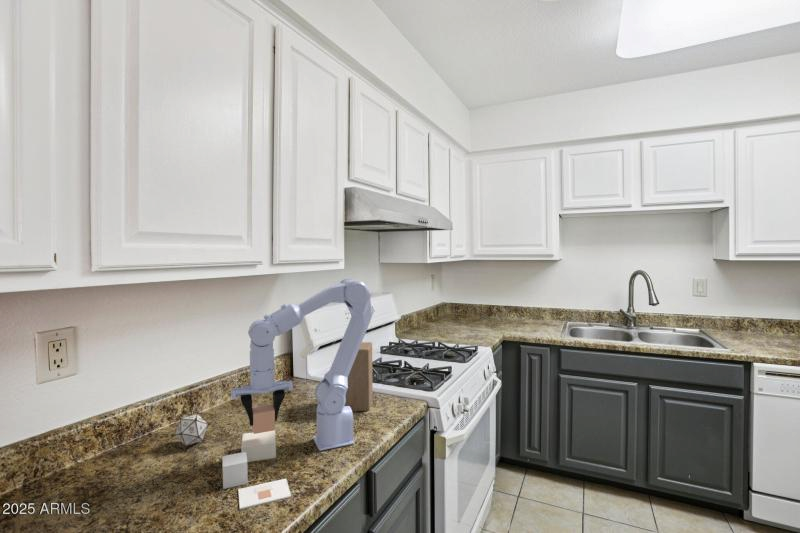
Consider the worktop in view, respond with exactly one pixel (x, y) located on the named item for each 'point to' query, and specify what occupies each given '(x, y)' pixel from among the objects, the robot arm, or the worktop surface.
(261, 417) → the terracotta cube
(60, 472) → the worktop surface
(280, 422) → the worktop surface
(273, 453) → the cream base block
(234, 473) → the white cube
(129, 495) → the worktop surface
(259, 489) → the card
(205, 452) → the worktop surface
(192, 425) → the game die
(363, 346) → the wooden block
